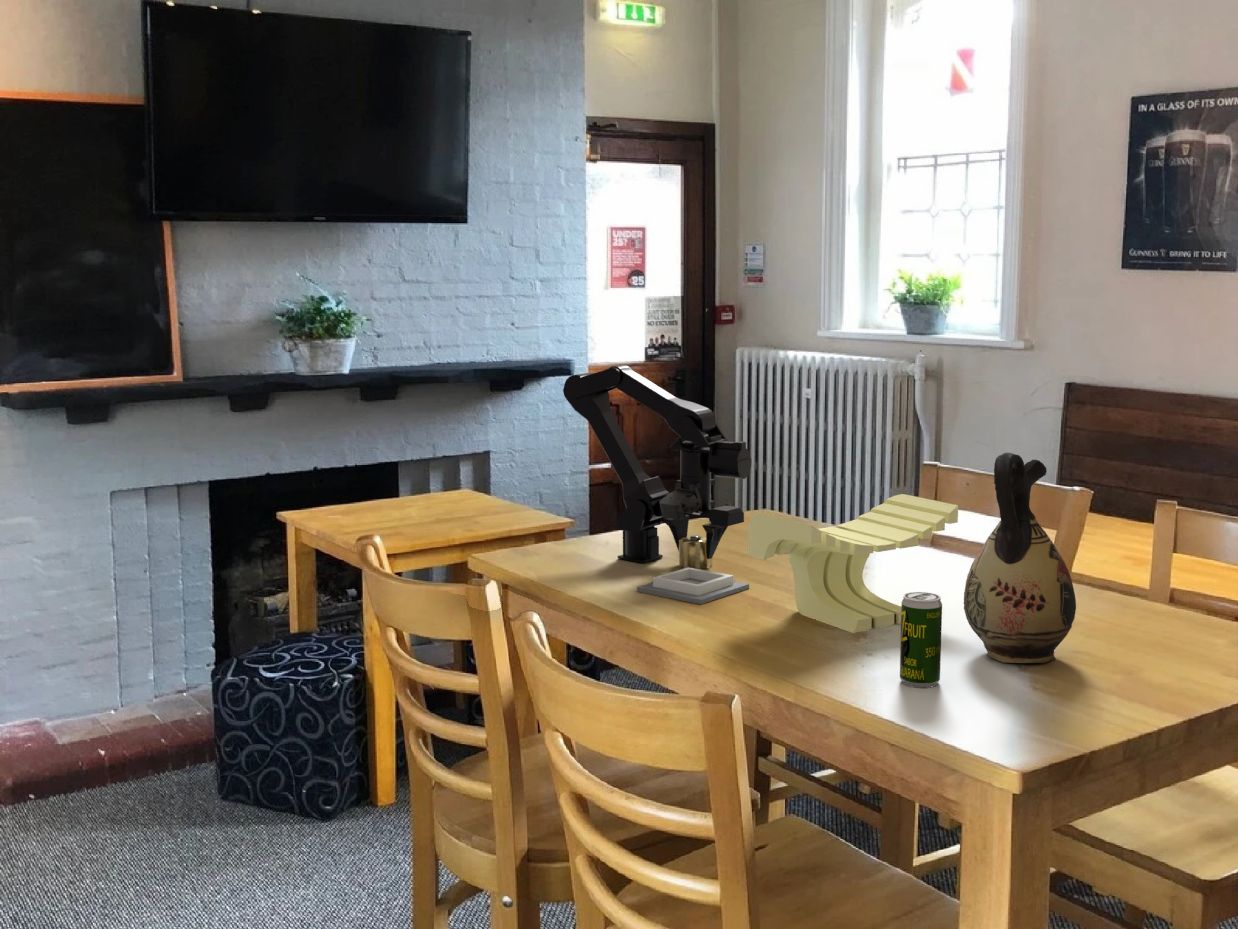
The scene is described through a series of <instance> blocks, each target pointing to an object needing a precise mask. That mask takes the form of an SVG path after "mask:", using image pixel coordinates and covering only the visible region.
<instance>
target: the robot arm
mask: <svg viewBox="0 0 1238 929" xmlns="http://www.w3.org/2000/svg"><path fill="white" fill-rule="evenodd" d="M615 389H617V390H619V391H620V392H622V393H624V394H625V395H627V396H629V398H632V399H633V400H635V401H636V402H638V403H640V404H641V405H642V406H644V407H646V408H647V409H649V410H651V411H652V412H653V413H656V414H657V415H659V416H660V417H661V418H662V419H663V420H664V421H665V422H666V425H668V428H669V429H670V430H672V431H673V432H674V433H675V434H676V435H677V436H679V437H677V439H676V441H674V443H672V445H670V446H669V450H670V451H679V453H680V462H679V463H680V465H679V466H680V467H679V468H680V475H679V476H680V479H678V480H676V481H675V484H674V490H673V491H671V492H669V491H668V490H667V489H666V488H665V486H664V484H663V481H662V479H661V477H660V476H659V475H657V476H654V477H651V476H649V475H648V474H647V472H645V471H644V469H643V467H642V465H641V464H640V462H639V460H638V458H637V456H636V455H635V453H634V451H633V449H632V447H631V446H630V444H629V442H628V440H627V438H626V436H625V434H624V433H623V430H622V428H621V427H620V425H619V424H618V421H617V420H616V418H615V415H614V414H613V412H612V410H611V405H610V404H611V403H610V393H609V392H611V391H613V390H615ZM562 392H563V396H564V398H565V399H566V401H567V402H568V404H569V405H570V407H571V408H572V409H573V410H574V411H575V412H576V413H578V414H579V415H580V416H581V417H583V418H584V419H585V420H587V421H588V424H589V426H590V427H591V429H592V431H593V432H594V435H595V436H596V438H597V440H598V441H599V442H598V443H599V444H600V445H601V447H602V450H603V451H604V452H605V454H606V456H607V459H608V460H609V462H610V464H611V466H612V467H613V469H614V471H615V473H616V475H617V476H618V479H619V480H620V482H621V484H622V497H623V498H622V499H623V503H624V505H625V509H624V510H623V512H621V513H620V514H619V516H618V517H616V519H615V522H616V525H617V528H618V530H619V531H622V554H620V555H617V559H619V560H625V561H630V562H635V563H639V564H641V563H642V564H644V563H647V562H651V561H655V560H659V559H662V558H664V556H663V554H660V537H659V535H658V527H657V526H660V525H662V522H663V523H664V524H666V525H667V526H668V528H669V530H670V532H671V534H672V537H673V540H674V543H675V545H676V548H677V550H678V551H677V552H679V540H681V538H684V537H685V538H688V532H689V531H688V529H689V522H690V516H691V517H699V518H703V519H708V523H705V524H702V525H701V526H702V528H703V530H704V531H705V534H706V535H705V537H706V554H707V559H711V558H712V559H713V557H714V554H715V552H716V550H717V548H718V546H719V543H720V542H721V539H722V537H723V535H724V534H725V532H726V531H727V529H728V527H730V526H735V525H739V524H742V523H745V512H744V510H743V509H742V507H741V506H740V507H739V506H732V505H723V506H718V507H716V501H715V500H712V493H711V492H712V491H711V490H712V489H711V488H712V487H711V486H714V485H715V486H716V479H714V478H712V475H713V476H714V477H717V478H718V477H719V478H729V479H740V480H742V479H743V480H746V479H747V478H748V476H749V475H750V472H751V470H752V457H751V454H750V451H749V449H748V448H747V442H746V441H740V440H739V441H728V439H727V437H726V436H725V435H724V433H723V432H722V429H720V427H719V425H718V424H717V422H716V417H715V413H714V411H712V409H710V408H709V407H707V406H704V405H701V404H699V403H696V402H692V401H689V400H685V399H681V398H679V397H676V396H674V395H673V394H672V393H670V392H668V391H667V390H665V389H663V387H660V386H658V385H657V384H655V383H654V382H652V381H650V380H649V379H647V378H646V377H644V376H643V375H641V374H640V373H638V372H635V370H633V369H632V368H631V367H630V366H628V365H626V364H619V365H615V366H614V365H613V366H610V367H609V368H607V369H604V370H600V371H598V372H597V371H596V372H586V373H578V374H572V375H570V376H568V377H567V378H566V379H565V382H564V384H563V388H562ZM714 507H715V508H714Z"/></svg>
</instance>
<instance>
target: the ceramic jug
mask: <svg viewBox="0 0 1238 929" xmlns="http://www.w3.org/2000/svg"><path fill="white" fill-rule="evenodd" d="M993 467H994V468H993V478H994V480H993V483H994V490H995V496H996V501H997V506H998V509H999V517H1000V520H999V521H998V523H997V525H996V527H994V529H993V530H992V531H991V532H990V535H988V537H987V538H986V540H985V542H984V543H983V545H982V546H981V547H980V549H979V551H978V552H977V553H976V556H975V558H974V560H973V561H972V563H971V565H970V568H969V571H968V573H967V576H966V580H965V586H964V592H963V610H964V614H965V617H966V618H965V619H966V620H967V623H968V624H969V626H970V628H971V629H972V631H973V632H974V633H975V634H976V635H977V637H978V638H979V639H980V640H981V641H982V643H983V646H984V649H985V651H986V652H987V653H986V654H987V655H988V657H990V658H992V659H994V660H996V661H999V662H1001V663H1005V664H1006V663H1009V664H1011V663H1018V664H1045V663H1048V662H1050V661H1053V660H1055V659H1056V657H1055V655H1054V654H1055V650H1056V648H1058V646H1060V644H1061V643H1062V642H1063V641H1064V639H1065V638H1066V637H1067V636H1068V634H1069V632H1070V631H1071V629H1072V626H1073V622H1074V620H1075V617H1076V611H1077V610H1076V609H1077V600H1076V593H1075V588H1074V585H1073V581H1072V576H1071V574H1070V571H1069V569H1068V567H1067V564H1066V562H1065V561H1064V559H1063V557H1062V555H1061V553H1060V552H1059V550H1058V549H1057V547H1056V546H1055V544H1054V543H1053V540H1051V538H1050V537H1049V535H1048V534H1047V532H1046V531H1045V530H1044V528H1043V527H1042V526H1041V524H1040V523H1039V522H1038V521H1037V518H1036V515H1035V514H1034V513H1033V512H1032V510H1031V508H1030V502H1031V501H1030V500H1031V490H1032V487H1033V485H1035V484H1036V483H1037V482H1038V481H1039V480H1040V479H1042V478H1043V477H1046V475H1047V466H1046V465H1045V464H1044V463H1043V462H1042V461H1040V460H1038V459H1031V460H1029V461H1027V462H1024V460H1023V458H1022V456H1021V455H1019V454H1015V453H1012V452H1003V453H1002V454H999V455H998V456H997V457H996V458H995V461H994V466H993Z"/></svg>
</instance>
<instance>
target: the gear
mask: <svg viewBox="0 0 1238 929" xmlns="http://www.w3.org/2000/svg"><path fill="white" fill-rule="evenodd" d="M678 565H679V568H680V567H682V568H683V569H684V568H688V567H689V568H695V569H700V570H704V569H710V568H711V567H712V566H713V557H712V558H711V559H707V554H706V536H701V535H691V536H689V537H688V536H687V538H685V537H684V538H681V540H679V551H678Z"/></svg>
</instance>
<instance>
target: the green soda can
mask: <svg viewBox="0 0 1238 929" xmlns="http://www.w3.org/2000/svg"><path fill="white" fill-rule="evenodd" d="M902 598H903V599H902V601H901V624H900V645H899V646H900V647H899V649H900V653H899V654H900V656H899V657H900V658H899V678H900V681H901V683H902V682H903V683H905V684H906V685H905V684H904V685H905V686H907V685H909V686H908V687H911V686H914V687H913V688H916V687H930V686H934V685H936V686H937V685H939V682H940V680H941V657H942V656H941V655H942V623H943V621H942V618H943V603H942V601H941V598H942V597H941V595H939V594H936V593H933V592H927V591H914V592H911V591H910V592H907V593H904V594H903V597H902ZM934 687H935V686H934ZM930 688H931V687H930Z"/></svg>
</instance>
